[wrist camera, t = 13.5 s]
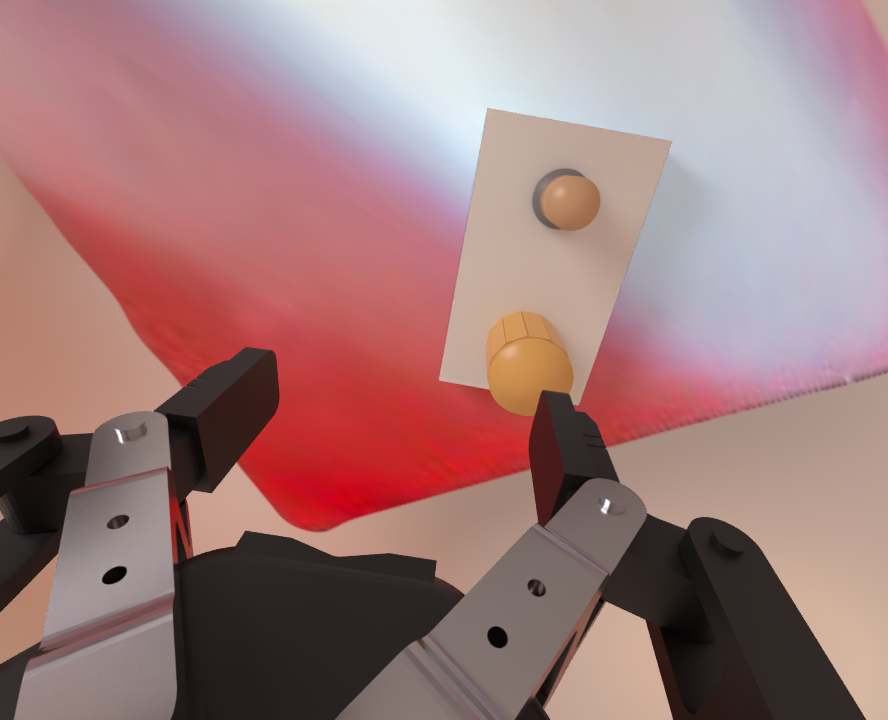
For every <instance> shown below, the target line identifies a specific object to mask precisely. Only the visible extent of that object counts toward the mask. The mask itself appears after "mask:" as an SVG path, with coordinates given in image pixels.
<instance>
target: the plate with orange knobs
mask: <svg viewBox="0 0 888 720" xmlns="http://www.w3.org/2000/svg"><path fill="white" fill-rule="evenodd" d="M671 144H672V141H668V140H662V139H657V138H651V137H646V136H640V135H634V134H629V133H623V132H618V131H612V130H607V129H601V128H596V127H590V126H585V125H579V124H573V123H568V122H562V121H557V120H551V119H546V118H540V117H535V116H529V115H523V114H518V113H512V112H507V111H501V110H496V109H490V108H487V113H486V119H485V124H484V130H483V136H482V141H481V147H480V152H479V158H478V164H477V169H476V175H475V181H474V186H473V192H472V197H471V203H470V209H469V214H468V220H467V225H466V231H465V237H464V242H463V248H462V253H461V259H460V265H459V270H458V276H457V282H456V287H455V293H454V298H453V304H452V310H451V315H450V321H449V326H448V332H447V338H446V343H445V349H444V354H443V360H442V366H441V371H440V377H439V381H445V382H450V383H456V384H462V385H467V386H473V387H478V388H484V389H489V383H488V379H487V368H486V343H487V339H488V334H489V331H490V329H491V328H492V327H493V326H494V325H495V324H496V323H497V322H498V321H499V320H500V319H501V318H503V317H504V316H507V315H510V314H513V313H516V312H519V311H525V312H531V313H537V314H541V315H542V316H543V317H544V318H545V319H546V320H548V321H549V322H550V323H551V324H552V325H553V326H554V327H555V329H556V331H557V333H558V335H559V337H560V339H561V342H562V344H563V346H564V348H565V350H566V352H567V354H568V358H569V361H570V363H571V366H572V368H573V375H574V379H573V385H572V389H571V391H570V393H569V395H570V397H571V400H572V403H573V405H579V403H580V401H581V398H582V395H583V392H584V389H585V387H586V384H587V381H588V378H589V375H590V372H591V370H592V367H593V364H594V361H595V358H596V355H597V353H598V350H599V347H600V344H601V341H602V339H603V336H604V333H605V330H606V327H607V324H608V322H609V319H610V316H611V313H612V310H613V307H614V305H615V302H616V299H617V296H618V293H619V291H620V288H621V285H622V282H623V279H624V276H625V274H626V271H627V268H628V265H629V262H630V259H631V257H632V254H633V251H634V248H635V245H636V242H637V240H638V237H639V234H640V231H641V228H642V226H643V223H644V220H645V217H646V214H647V211H648V209H649V206H650V203H651V200H652V197H653V194H654V192H655V189H656V186H657V183H658V180H659V178H660V175H661V172H662V169H663V166H664V163H665V161H666V158H667V155H668V152H669V149H670V146H671Z"/></svg>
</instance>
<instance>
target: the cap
mask: <svg viewBox="0 0 888 720" xmlns="http://www.w3.org/2000/svg"><path fill="white" fill-rule="evenodd" d="M486 368H487V379H488V383H489V389H490V392H491V394H492V396H493V398H494V399H495V401H496V402H497V403H498V404H499V405H500V406H501V407H502V408H504V409H505V410H507V411H509V412H511V413H514V414H517V415H523V416H535V413H536V409H537V405H538V401H539V398H540V394H541V392H542V390H549V391H556V392H563V393H570V391H571V389H572V385H573V379H574V375H573V368H572V366H571V363H570V361H569V358H568V354H567V352H566V350H565V348H564V346H563V344H562V342H561V339H560V337H559V335H558V333H557V331H556V329H555V327H554V326H553V325H552V324H551V323H550V322H549V321H548V320H546V319H545V318H544V317H543V316H542V315H541V314H537V313H531V312H525V311H519V312H516V313H513V314H510V315H507V316H504V317H503V318H501V319H500V320H499V321H498V322H497V323H496V324H495V325H494V326H493V327H492V328H491V329H490V331H489V334H488V339H487V343H486Z"/></svg>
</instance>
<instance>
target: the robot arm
mask: <svg viewBox="0 0 888 720" xmlns="http://www.w3.org/2000/svg"><path fill="white" fill-rule="evenodd" d="M278 404H279V384H278V372H277V361H276V355H275V353H274V352H273V351H272V350H265V349H258V348H251V347H246V348H244V349H243V350H241V351H240V352H239V353H238V354H236V355H235V356H234V357H233V358H232V359H230V360H229V361H227V360H226V361H223V362H221V363H219V364H216V365H214V366H211V367H209V368H208V369H206V370H205V371H204V372H203V373H201V374H200V375H199V376H198V377H197V379H194V380H192V381H191V382H190V383H189V384H187V387H184V388H182V389H181V390H180V391H178V392H177V393H176V394H175V395H174V396H172V397H171V398H170V399H168V400H167V401H166V402H164V403H163V404H162V405H161V406H159V407H158V408H157V409H156V410H154V411H153V412H152V411H139V412H132V413H127V414H123V415H120V416H117V417H115V418H113V419H110V420H108V421H107V422H105V423H103V424H102V425H100V426H99V427H98V428H97V429H96V430H95V432H94V433H88V434H71V435H60V434H59V431H58V429H57V426H56V424H55V422H54V421H53V420H52V419H51V418H48V417H44V416H24V417H17V418H12V419H8V420H5V421H1V422H0V511H1V513H2V514H3V516H4V519H2V520H1V521H0V612H1V611H2V610H3V609H4V608H5V607H6V606H7V605H8V604H9V603H10V602H11V601H12V600H13V599H14V598H15V597H16V596H17V595H18V594H19V593H20V592H21V591H22V590H23V589H24V588H25V587H26V586H27V585H28V584H29V583H30V582H31V581H32V579H33V578H35V576H36V575H37V574H38V573H39V572H40V571H41V570H42V569H43V568H44V567H45V566H46V565H47V564H48V563H49V562H50V561H51V560H52V559H53V558H54V557H55V556H56V555H57V554H58V558H57V563H56V569H55V573H54V578H53V584H52V589H51V594H50V599H49V605H48V610H47V615H46V620H45V626H44V631H43V636H42V641H40V642H39V643H37V644H35V645H33V646H32V647H30V648H29V649H26V650H25V651H23V652H21V653H19V654H18V655H16V656H14V657H12V658H10V659H9V660H7V661H6V662H3V663H2V664H0V720H550V718H549V717H548V715H547V714H546V712H545V711H544V709H545V707H546V706H547V704H548V702H549V701H550V699H551V697H552V695H553V694H554V692H555V690H556V688H557V686H558V684H559V683H560V681H561V679H562V677H563V675H564V673H565V671H566V669H567V668H568V666H569V664H570V662H571V660H572V659H573V657H574V655H575V653H576V652H577V650H578V648H579V647H580V645H581V643H582V642H583V640H584V638H585V637H586V635H587V633H588V631H589V630H590V628H591V627H592V625H593V623H594V622H595V620H596V618H597V617H598V615H599V613H600V612H601V610H602V608H603V607H604V605H605V603H606V602H609V603H611V604H613V605H615V606H617V607H620V608H621V609H624V610H626V611H628V612H630V613H632V614H634V615H636V616H639V617H641V618H643V619H645V620H646V623H647V627H648V631H649V634H650V638H651V641H652V645H653V649H654V652H655V656H656V659H657V663H658V667H659V670H660V674H661V677H662V681H663V685H664V688H665V692H666V695H667V699H668V703H669V706H670V710H671V713H672V717H673V720H866V718H865V717H864V715H863V714H862V712H861V710H860V709H859V707H858V706H857V704H856V702H855V701H854V699H853V697H852V696H851V694H850V693H849V691H848V690H847V688H846V686H845V685H844V683H843V681H842V680H841V678H840V676H839V675H838V673H837V672H836V670H835V668H834V667H833V665H832V664H831V662H830V660H829V659H828V657H827V655H826V654H825V652H824V651H823V649H822V647H821V646H820V644H819V642H818V641H817V639H816V638H815V636H814V634H813V633H812V631H811V630H810V628H809V626H808V625H807V623H806V621H805V620H804V618H803V617H802V615H801V613H800V612H799V610H798V608H797V607H796V605H795V604H794V602H793V600H792V599H791V597H790V596H789V594H788V593H787V591H786V589H785V588H784V586H783V584H782V583H781V581H780V580H779V578H778V576H777V575H776V573H775V571H774V570H773V568H772V566H771V565H770V563H769V562H768V560H767V558H766V557H765V555H764V554H763V552H762V550H761V549H760V548H759V546H758V545H757V544H756V543H755V542H754V541H753V540H752V539H751V538H750V537H749V536H747V535H746V534H745V533H744V532H742V531H741V530H739V529H738V528H735V527H734V526H732V525H730V524H728V523H726V522H724V521H721V520H718V519H714V518H709V517H700V518H696V519H694V520H692V521H691V523H690V525H689V526H688V528H687V530H686V529H684V528H681V527H678V526H676V525H673V524H671V523H668V522H666V521H663V520H660V519H658V518H656V517H653V516H651V515H650V514H648V513H647V511H646V507H645V505H644V503H643V501H642V500H641V499H640V497H639V496H638V495H637V494H636V493H635V492H633V491H632V490H631V489H629V488H628V487H626V486H625V485H622V484H620V482H619V479H618V477H617V474H616V472H615V469H614V466H613V464H612V461H611V459H610V456H609V454H608V451H607V449H605V448H606V446H605V444H604V441H603V439H601V437H602V436H601V434H600V431H599V429H598V426H597V424H596V423H595V422H594V421H593V420H592V419H591V418H590V417H589V416H588V415H587V414H586V413H585V412H578V411H575V409H574V406H573V403H572V400H571V397H570V395H569V393H563V392H556V391H549V390H542V392H541V394H540V398H539V401H538V405H537V409H536V413H535V417H534V421H533V425H532V429H531V433H530V438H529V458H530V465H531V473H532V479H533V487H534V494H535V501H536V509H537V516H538V523H536V524H534V525H533V526H532V527H530V528H529V529H528V530H527V532H526V533H525V534H524V535H523V536H522V537H521V538H520V539H519V540H518V541H517V542H516V543H515V544H514V545H513V546H512V547H511V548H510V549H509V550H508V551H507V553H505V555H504V556H503V557H502V558H501V559H500V560H499V561H498V562H497V563H496V564H495V565H494V566H493V567H492V568H491V569H490V570H489V571H488V572H487V573H486V574H485V576H483V578H482V579H481V580H480V581H479V582H478V583H477V584H476V585H475V586H474V587H473V588H472V589H471V590H470V591H469V592H468V593H467V594H466V595H464V594H463V593H462V592H461V591H459V590H458V589H457V588H455V587H454V586H452V585H450V584H449V583H447V582H445V581H444V580H442V579H439V578H437V577H435V570H436V562H437V561H435V560H429V559H423V558H416V557H410V556H403V555H397V554H391V553H387V554H373V555H359V556H346V557H336V556H332V555H330V554H327V553H325V552H323V551H320V550H318V549H316V548H314V547H311V546H309V545H307V544H305V543H302V542H300V541H298V540H295V539H293V538H289V537H282V536H276V535H270V534H263V533H257V532H250V531H245V532H244V534H243V536H242V537H241V538H240V540H239V542H238V543H237V545H236V546H235V547H227V548H221V549H216V550H212V551H209V552H205V553H202V554H200V555H197V556H193V548H192V538H191V529H190V520H189V511H188V504H187V500H186V497H187V496H188V494H189V493H190V492H191V491H192V490H195V491H201V492H207V493H212V492H213V491H214V490H215V488H216V487H217V486H218V485H219V483H220V482H221V481H222V480H223V478H224V477H225V476H226V474H227V473H228V472H229V471H230V469H231V468H232V467H233V466H234V465H235V463H236V462H237V461H238V460H239V458H240V457H241V456H242V455H243V453H244V452H245V451H246V450H247V448H248V447H249V446H250V445H251V443H252V442H253V441H254V440H255V438H256V437H257V436H258V435H259V433H260V432H261V431H262V430H263V428H264V427H265V426H266V425H267V423H268V422H269V421H270V420H271V418H272V417H273V416H274V414H275V413H276V410H277V408H278Z"/></svg>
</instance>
